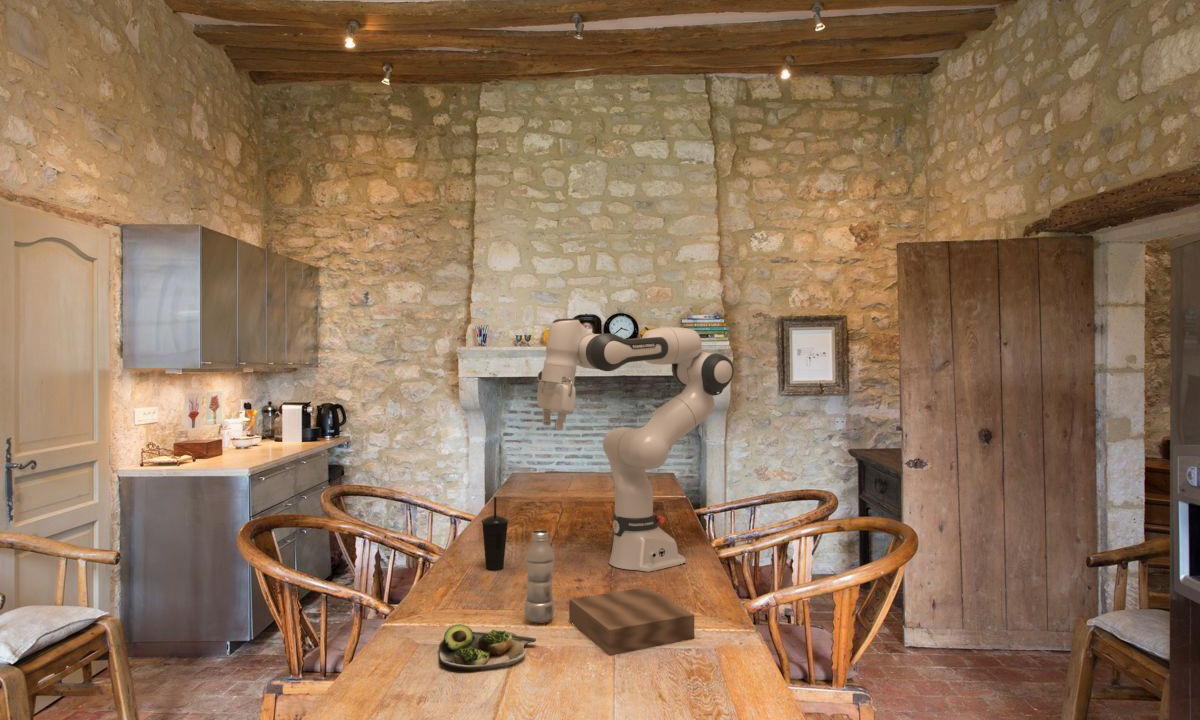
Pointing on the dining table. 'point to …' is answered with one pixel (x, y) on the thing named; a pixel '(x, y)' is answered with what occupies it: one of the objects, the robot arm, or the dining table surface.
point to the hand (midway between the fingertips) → (552, 427)
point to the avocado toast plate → (479, 648)
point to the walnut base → (630, 620)
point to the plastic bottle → (539, 578)
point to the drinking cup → (494, 540)
